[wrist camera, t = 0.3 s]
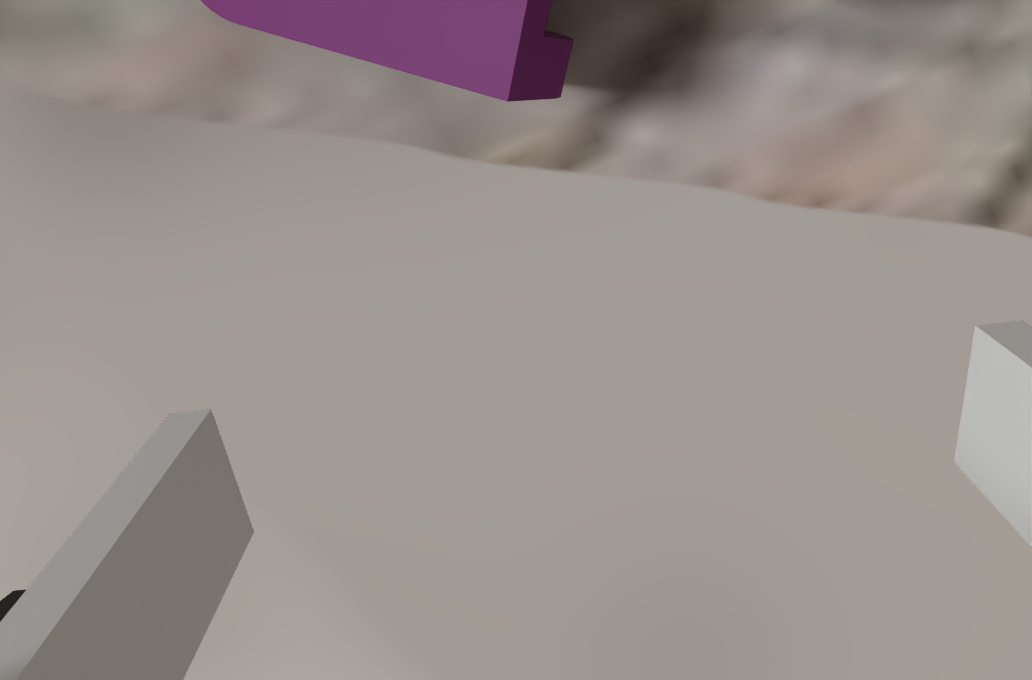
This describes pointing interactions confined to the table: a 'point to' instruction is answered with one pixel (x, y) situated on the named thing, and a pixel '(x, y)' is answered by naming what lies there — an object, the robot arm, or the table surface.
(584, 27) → the table surface
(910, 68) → the table surface
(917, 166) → the table surface
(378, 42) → the mounting bracket
